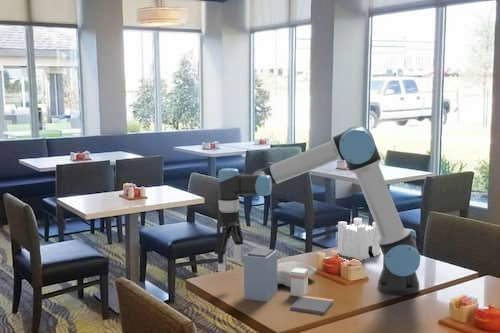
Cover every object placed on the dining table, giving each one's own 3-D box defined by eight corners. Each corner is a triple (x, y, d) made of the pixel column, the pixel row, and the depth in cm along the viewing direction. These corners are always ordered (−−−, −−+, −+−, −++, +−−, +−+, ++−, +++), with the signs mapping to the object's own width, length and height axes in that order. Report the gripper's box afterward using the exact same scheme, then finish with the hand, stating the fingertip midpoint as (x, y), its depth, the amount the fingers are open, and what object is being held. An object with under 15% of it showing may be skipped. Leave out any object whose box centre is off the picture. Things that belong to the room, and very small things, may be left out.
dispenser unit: (277, 292, 215) (277, 249, 213) (267, 301, 206) (267, 256, 204) (253, 289, 219) (252, 246, 217) (242, 298, 210) (242, 253, 208)
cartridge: (308, 292, 215) (308, 269, 214) (304, 297, 211) (304, 273, 210) (295, 290, 218) (295, 267, 216) (290, 295, 213) (290, 271, 212)
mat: (333, 302, 205) (333, 299, 205) (324, 314, 194) (324, 311, 194) (301, 298, 210) (301, 295, 210) (290, 309, 199) (290, 306, 199)
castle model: (356, 248, 274) (357, 217, 272) (381, 254, 264) (381, 222, 262) (336, 254, 265) (337, 222, 263) (361, 260, 254) (361, 227, 253)
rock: (247, 265, 232) (305, 251, 239) (250, 282, 233) (307, 267, 240) (263, 282, 214) (325, 266, 221) (266, 300, 215) (327, 284, 222)
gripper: (233, 203, 226) (234, 256, 229) (204, 216, 203) (205, 274, 206) (251, 204, 223) (252, 258, 226) (223, 218, 201) (224, 277, 203)
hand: (229, 266), depth 216 cm, fingers open, 13 cm apart
